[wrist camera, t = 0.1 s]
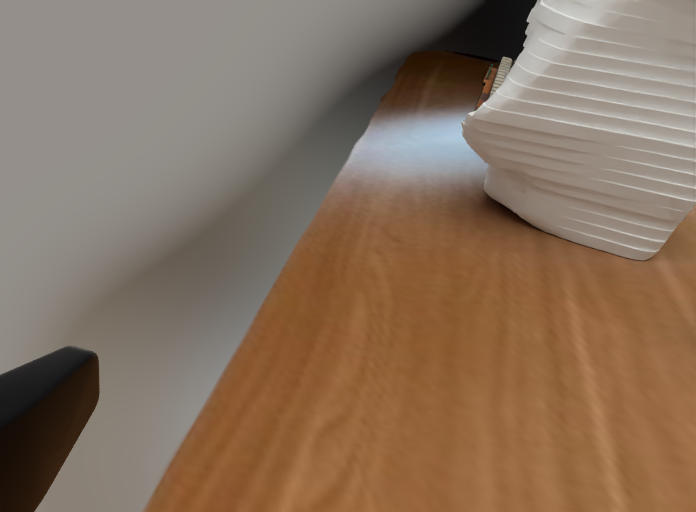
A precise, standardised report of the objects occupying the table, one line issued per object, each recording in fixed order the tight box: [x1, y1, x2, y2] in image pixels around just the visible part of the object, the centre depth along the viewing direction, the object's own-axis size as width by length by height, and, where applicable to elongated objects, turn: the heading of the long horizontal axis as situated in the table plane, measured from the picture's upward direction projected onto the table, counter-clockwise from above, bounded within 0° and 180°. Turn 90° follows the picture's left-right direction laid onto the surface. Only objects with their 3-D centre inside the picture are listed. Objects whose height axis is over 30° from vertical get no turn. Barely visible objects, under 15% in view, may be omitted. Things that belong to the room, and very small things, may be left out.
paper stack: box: [461, 0, 696, 261], centre depth 60 cm, size 21×27×26 cm
